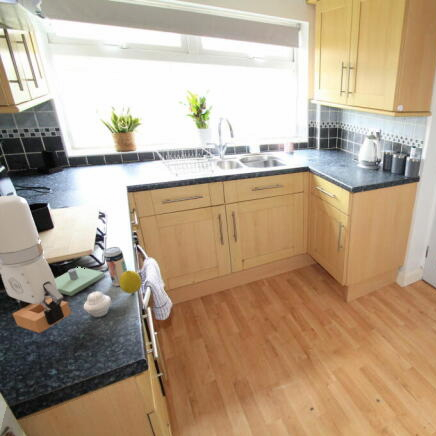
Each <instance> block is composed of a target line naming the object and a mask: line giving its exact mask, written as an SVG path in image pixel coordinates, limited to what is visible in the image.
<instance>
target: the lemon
mask: <svg viewBox="0 0 436 436" xmlns="http://www.w3.org/2000/svg"><path fill="white" fill-rule="evenodd" d="M119 287H120V289H121V290H122V291H123V292H124V293H126V294H132V295H133V294H136V293H137V292H138V291H139V290H140V289H141V287H142V278H141V276H140V274H139V273H138V272H137V271H135V270H127V271H126V272H124V273H123V274H122V275H121V277H120V286H119Z"/></svg>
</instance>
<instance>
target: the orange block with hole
mask: <svg viewBox="0 0 436 436" xmlns="http://www.w3.org/2000/svg"><path fill="white" fill-rule="evenodd" d="M46 296H47V295H44V297H46ZM45 301H46V302H47V304H48V305H49V303H50V302H52V299H51V297H50V298H49V299H47V300H45ZM60 306H61V309H62V312H63V315H64V317H63V318H62V319H60V320H59V321H57V322H55V323H54V324H52V325H49V324H48V322H47V319H46V317H45V314H44V311H45V309H44V307H43V306H42V305H41V303H39V304H30V305H28V306H26V307H24V308H22V309H21V308H20V309H19V310H17V311H15V312H13V313H12V316H13V318H14V321H15V323H16V325H17V327H21V328H23V329H26V330H29V331H32V332H35V333H38V334H41V333H42V332H44V331H46V330H47V329H49V328H51V327H52V326H54V325H55V324H57V323H60V321H62V320H63V319H65V318H67V317H68V316H70V315H71V314H72V311H71V309H70V305H69V302H67V301H64V300H62V302H61V305H60Z"/></svg>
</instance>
